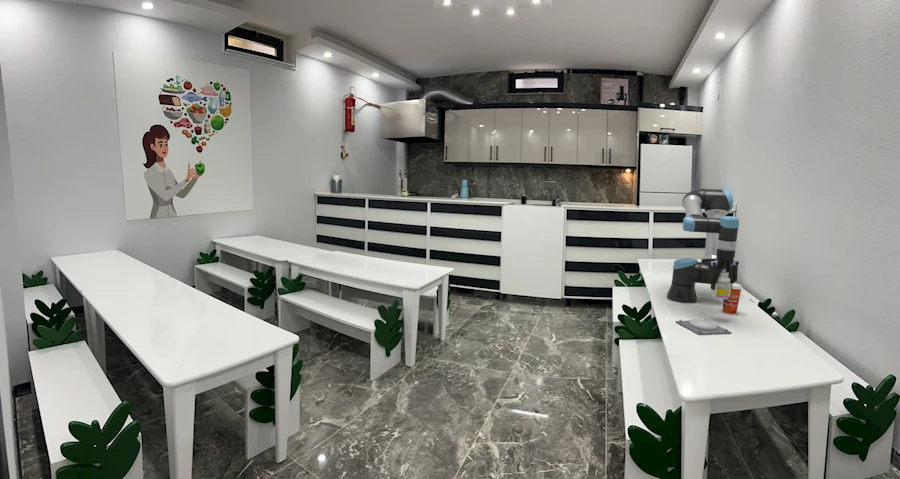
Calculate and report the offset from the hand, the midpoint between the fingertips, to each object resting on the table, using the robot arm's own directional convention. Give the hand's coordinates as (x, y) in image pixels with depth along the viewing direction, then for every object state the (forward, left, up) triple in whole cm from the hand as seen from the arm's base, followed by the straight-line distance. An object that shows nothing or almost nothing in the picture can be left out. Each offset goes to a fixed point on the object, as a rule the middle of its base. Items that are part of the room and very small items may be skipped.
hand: (720, 295), depth 213 cm
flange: (+9, -15, -12) cm, 22 cm away
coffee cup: (-11, +16, -13) cm, 23 cm away
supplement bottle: (0, 0, -1) cm, 1 cm away
